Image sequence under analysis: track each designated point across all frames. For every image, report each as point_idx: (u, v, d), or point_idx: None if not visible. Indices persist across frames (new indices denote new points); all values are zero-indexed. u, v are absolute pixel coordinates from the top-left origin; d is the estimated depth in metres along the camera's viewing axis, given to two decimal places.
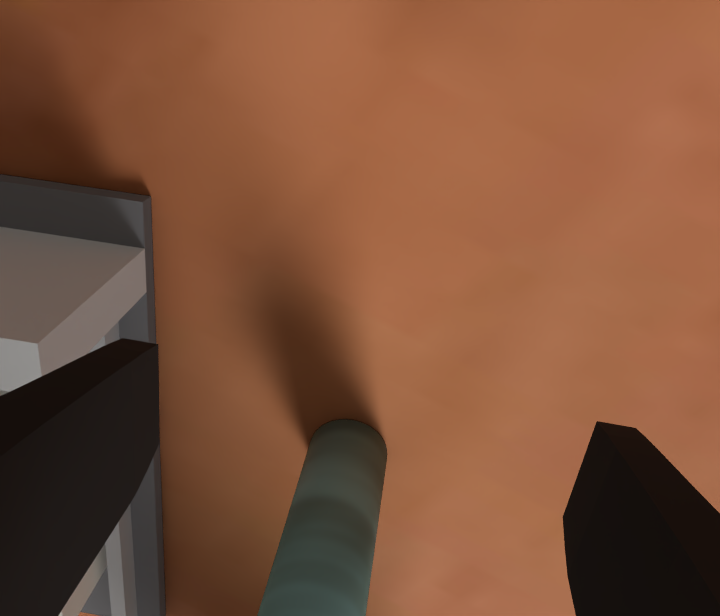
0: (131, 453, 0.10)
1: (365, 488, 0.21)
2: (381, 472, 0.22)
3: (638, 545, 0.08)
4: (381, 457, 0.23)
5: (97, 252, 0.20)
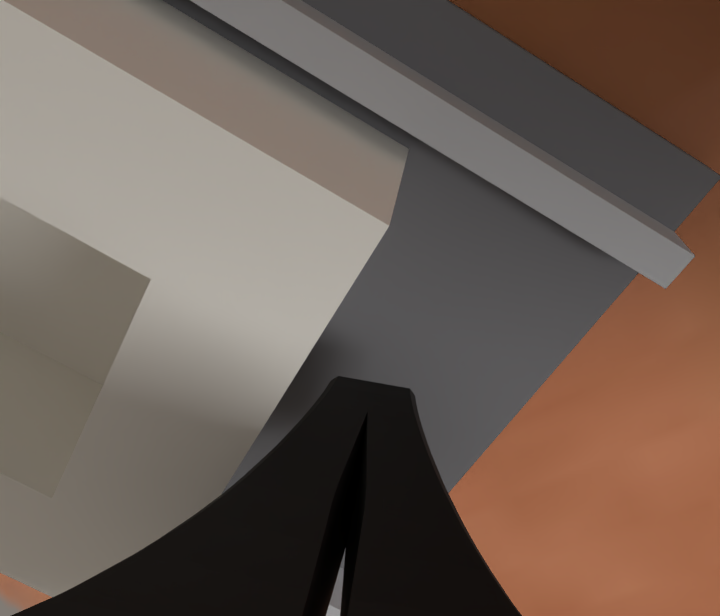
0: None
1: None
2: None
3: (360, 494, 0.09)
4: None
5: None
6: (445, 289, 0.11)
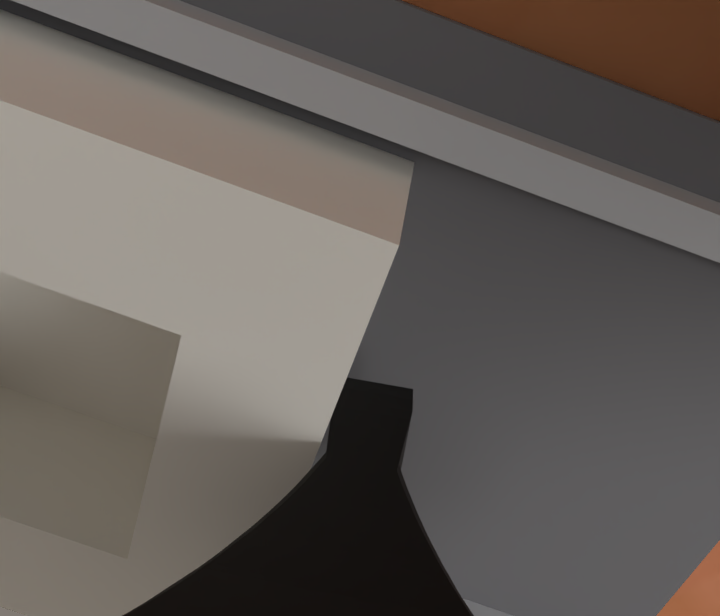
0: None
1: None
2: None
3: None
4: None
5: None
6: (691, 371, 0.11)
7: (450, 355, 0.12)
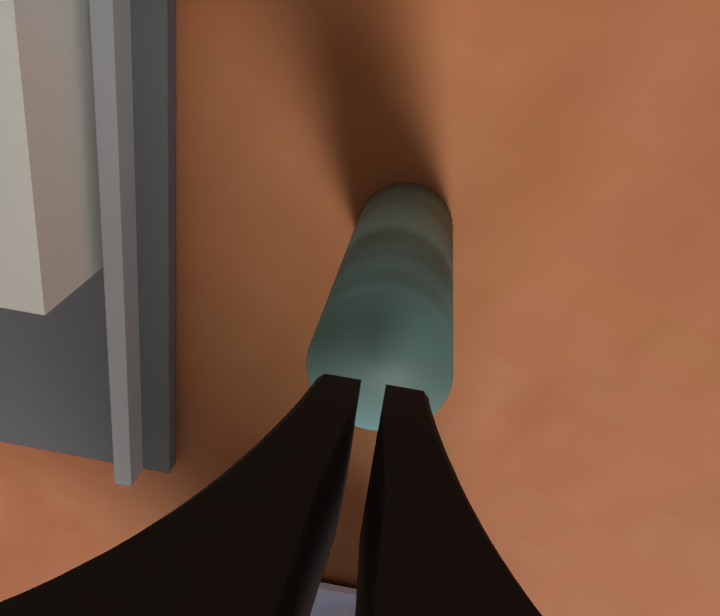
0: (341, 492, 0.10)
1: (438, 233, 0.17)
2: (451, 235, 0.18)
3: (377, 497, 0.09)
4: (449, 222, 0.19)
5: None
6: (67, 401, 0.23)
7: None
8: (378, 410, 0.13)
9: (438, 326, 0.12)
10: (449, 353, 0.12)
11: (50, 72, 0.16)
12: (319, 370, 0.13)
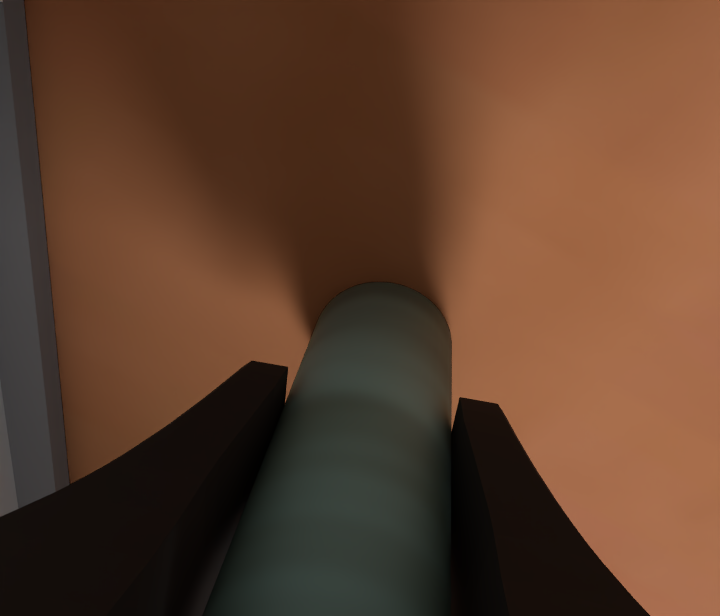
0: None
1: (428, 387, 0.10)
2: (449, 370, 0.12)
3: (468, 514, 0.08)
4: (446, 346, 0.12)
5: None
6: None
7: None
8: None
9: None
10: None
11: None
12: None
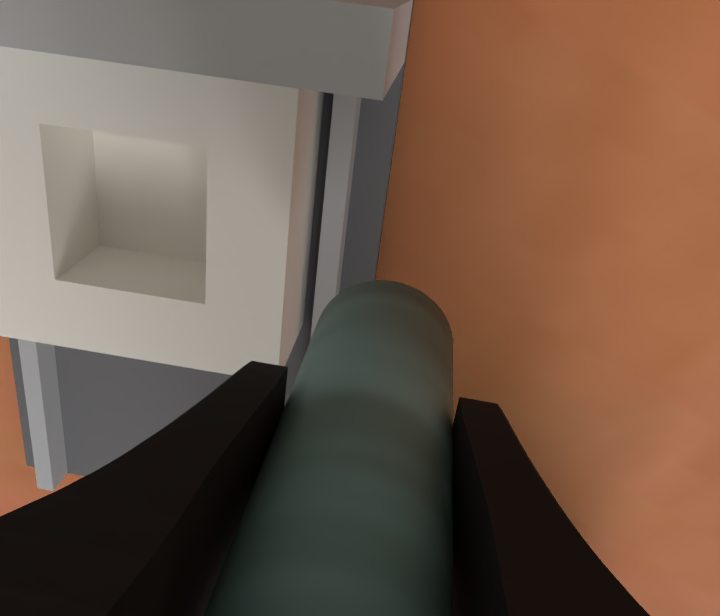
0: None
1: (429, 386, 0.10)
2: (450, 368, 0.12)
3: (468, 514, 0.08)
4: (448, 345, 0.12)
5: None
6: None
7: None
8: None
9: None
10: None
11: (304, 147, 0.16)
12: None
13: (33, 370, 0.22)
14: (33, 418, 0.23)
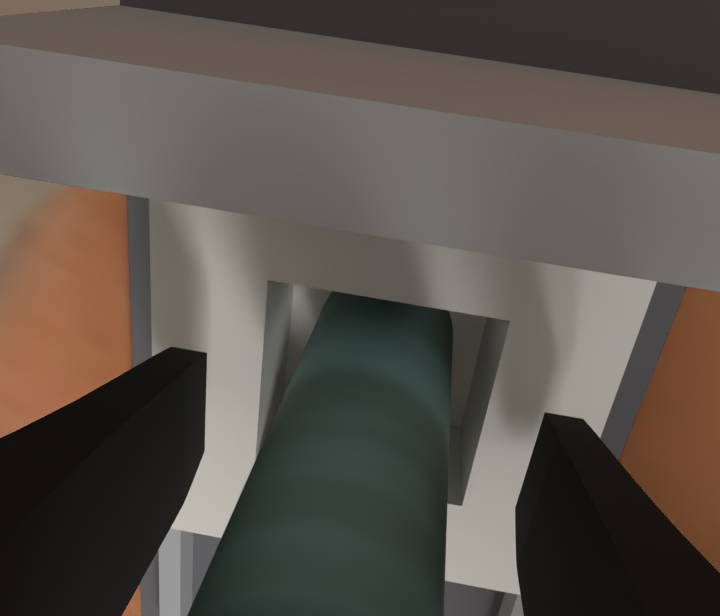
0: (181, 462, 0.10)
1: (427, 367, 0.11)
2: (449, 354, 0.12)
3: (573, 533, 0.08)
4: (447, 332, 0.13)
5: (711, 97, 0.11)
6: None
7: None
8: None
9: None
10: None
11: None
12: None
13: (173, 530, 0.17)
14: (166, 581, 0.18)
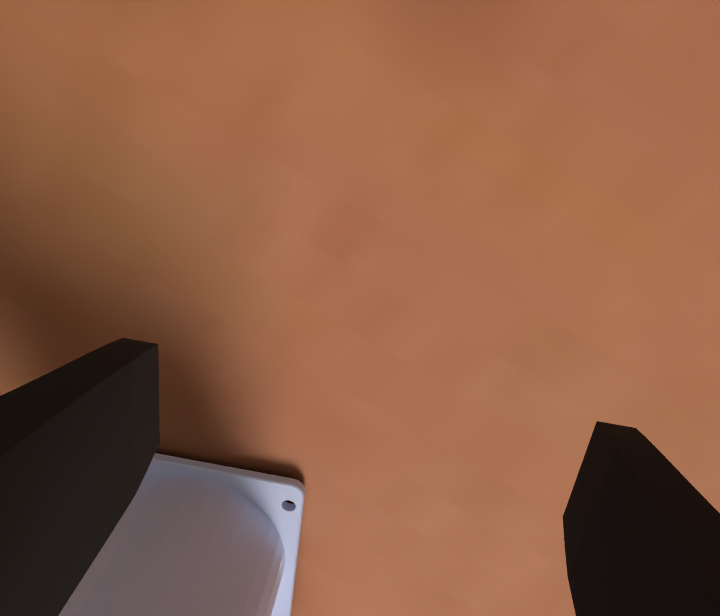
0: (131, 453, 0.10)
1: None
2: None
3: (638, 545, 0.08)
4: None
5: None
6: None
7: None
8: None
9: None
10: None
11: None
12: None
13: None
14: None
